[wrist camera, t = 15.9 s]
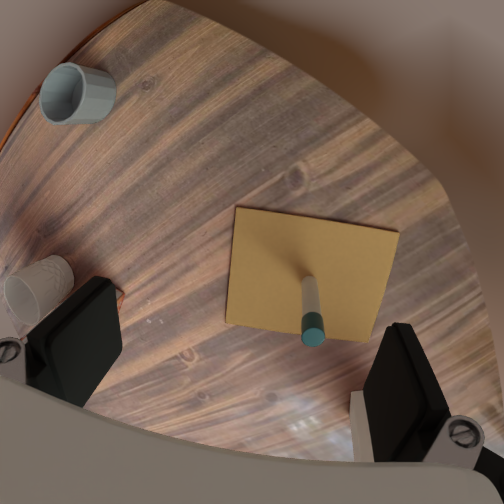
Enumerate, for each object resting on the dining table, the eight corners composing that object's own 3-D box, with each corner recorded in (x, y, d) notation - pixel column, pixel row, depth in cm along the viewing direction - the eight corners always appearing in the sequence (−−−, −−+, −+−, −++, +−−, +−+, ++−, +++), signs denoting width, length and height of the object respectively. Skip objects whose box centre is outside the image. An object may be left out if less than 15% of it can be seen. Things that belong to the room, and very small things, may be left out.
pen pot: (75, 72, 35) (43, 67, 28) (119, 67, 34) (89, 58, 28) (69, 124, 37) (37, 126, 31) (113, 123, 37) (82, 123, 30)
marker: (302, 273, 40) (303, 326, 29) (319, 276, 40) (327, 329, 29) (299, 289, 41) (299, 345, 29) (316, 291, 40) (322, 348, 29)
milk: (350, 390, 46) (364, 512, 25) (387, 386, 45) (415, 503, 24) (349, 415, 48) (358, 529, 27) (383, 411, 47) (404, 521, 26)
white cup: (82, 268, 45) (43, 297, 35) (72, 304, 47) (36, 335, 38) (47, 241, 44) (5, 264, 35) (39, 278, 47) (1, 304, 37)
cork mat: (236, 206, 39) (236, 207, 38) (399, 232, 37) (400, 233, 37) (225, 321, 44) (225, 323, 44) (367, 341, 43) (367, 342, 42)
